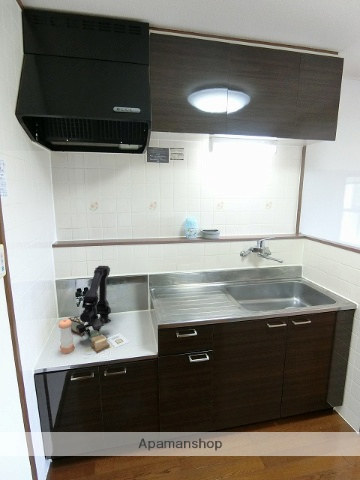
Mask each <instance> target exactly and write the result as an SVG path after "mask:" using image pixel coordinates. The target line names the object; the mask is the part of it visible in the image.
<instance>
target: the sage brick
mask: <svg viewBox="0 0 360 480" xmlns="http://www.w3.org/2000/svg"><path fill="white" fill-rule="evenodd" d="M99 333H100V332H99ZM99 333H98V331H97V330H93V329H92V330H90V338H89V337H88V339H89V340H90V341H91V342H92V338H93V337H96V336H99V335H100V334H99Z"/></svg>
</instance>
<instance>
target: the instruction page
mask: <svg viewBox="0 0 360 480" xmlns="http://www.w3.org/2000/svg"><path fill="white" fill-rule="evenodd" d="M106 339H107V342H108V343H109V344H111V345H112V346H113V347H114V348H117V349H118V348H119V347H121V346H123V345H125V344H128V343H130V340H128V339H127V338H126V337H125V336H124V335H123V334H121V333H120V332H119V333H116V334H114V335H112V336H110V337H106Z"/></svg>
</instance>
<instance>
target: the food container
mask: <svg viewBox="0 0 360 480" xmlns="http://www.w3.org/2000/svg"><path fill="white" fill-rule="evenodd" d="M67 319H70V320H71V321H72V325H71V332H72V335H76V336H79V337H83V336H84V335H85V332H83V333H79V332H78V331H77V330H76V326H77V325H79V324H83V325H86V322H82V321H81V320H80V315H74V316H70V317H68V318H67Z"/></svg>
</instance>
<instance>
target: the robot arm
mask: <svg viewBox="0 0 360 480" xmlns="http://www.w3.org/2000/svg"><path fill="white" fill-rule="evenodd" d="M94 269H95V270H94V272H93V277H92V279H91V283H90V287H89V289H88V290H87V291H86V293H85V295H84V296H83V300H82V305H81V307H82V308H81V309H83V310H82V313H81V314H80V315H79V316H80V320H81V321H82V322H85V324H84V325H83V324H79V325H77V326H76V330H77V331H78V332H79V333H83V332H84V333H85V334H86V335H87V337H88V339H89V338H90V331H91V329H90V328H91V327H92V330H97V331H98V333H100V330H101V328H103V326H104V325H107V324H109V323H110V322H111V321H112V320H111V319H110V318H109V315H110V314H112V308H111V307H110V306H109V305H110V303H109V301H108V300H107V287H108V286H107V284H108V283H107V279H108V278H109V276H110V272H111V267H109V265H98V266H97V267H95V268H94ZM98 291H99V294H98ZM86 323H87V324H86Z"/></svg>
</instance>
